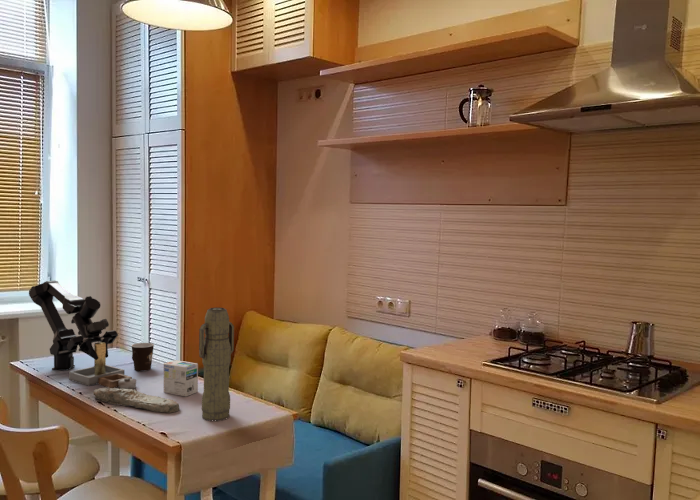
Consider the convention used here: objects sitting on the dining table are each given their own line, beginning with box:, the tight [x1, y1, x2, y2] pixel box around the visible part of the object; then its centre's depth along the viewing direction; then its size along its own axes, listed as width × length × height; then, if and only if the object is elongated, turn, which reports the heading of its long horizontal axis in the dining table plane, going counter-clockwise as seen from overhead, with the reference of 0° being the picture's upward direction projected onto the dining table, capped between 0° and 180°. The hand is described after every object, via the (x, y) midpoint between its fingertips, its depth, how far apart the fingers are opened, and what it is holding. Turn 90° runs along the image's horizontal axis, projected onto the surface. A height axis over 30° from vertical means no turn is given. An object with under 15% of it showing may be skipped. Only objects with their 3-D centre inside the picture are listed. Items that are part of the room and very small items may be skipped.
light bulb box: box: [163, 359, 199, 397], centre depth 223 cm, size 11×7×11 cm, turn 65°
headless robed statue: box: [198, 307, 235, 422], centre depth 198 cm, size 9×12×35 cm
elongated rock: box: [92, 387, 180, 414], centre depth 210 cm, size 35×5×10 cm
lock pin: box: [93, 342, 107, 376], centre depth 236 cm, size 4×4×12 cm
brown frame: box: [98, 373, 137, 390], centre depth 230 cm, size 14×8×3 cm, turn 55°
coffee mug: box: [131, 342, 155, 372], centre depth 251 cm, size 12×9×10 cm
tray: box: [68, 364, 125, 387], centre depth 238 cm, size 13×15×3 cm
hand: (102, 358), depth 236 cm, fingers closed on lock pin, 4 cm apart
